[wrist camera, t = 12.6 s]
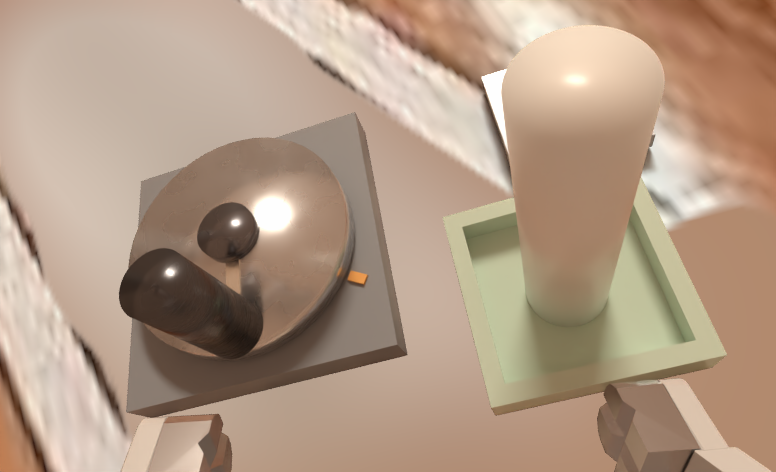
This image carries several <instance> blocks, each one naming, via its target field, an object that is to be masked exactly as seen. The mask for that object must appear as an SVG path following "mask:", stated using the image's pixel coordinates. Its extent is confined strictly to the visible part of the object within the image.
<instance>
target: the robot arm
mask: <svg viewBox="0 0 776 472" xmlns="http://www.w3.org/2000/svg"><path fill="white" fill-rule="evenodd" d="M604 396H605V399H606V401H607V403H606V404H605V405H603V406H602V407H600V409H599V413H598V418H597V421H598V432H599V436H600V440H601V443H602V445H603V448H604V450H605V453H607V454H608V455H609V456H610V457H611V458H613V459H614V460H615V461H617V464H616V468H615V471H614V472H772V471H770V470H769V469H768V468H766V467H765V466H763V465H762V464H760V463H759V462H757V461H756V460H754V459H753V458H751V457H750V456H749V455H747V454H746V453H744V452H743V451H741V450H739V449H738V448H737V447H728V445H727V443H726V442H725V440H724V439H723V437H722V436H721V434H720V433H719V431H718V429H717V428H716V426H715V425H714V423H713V422H712V420H711V419H710V417H709V416H708V414H707V412H706V411H705V410H704V408H703V406H702V405H701V403H700V402H699V400H698V398H697V397H696V395H695V394H694V392H693V391H692V389H691V387H690V386H689V384H688V383H687V382H686V381H685V380H684V379H682V378H676V379H665V380H644V381H633V382H622V383H611V384H609V385H608V386H607V387H606V389H605V392H604ZM222 427H223V422H222V420H221V417H220V415H219V414H209V415H191V416H173V417H156V418H144V419H143V420H142V421H141V423H140V424H139V425H138V427H137V429H136V432H135V435H134V437H133V440H132V443H131V445H130V448H129V451H128V453H127V456H126V459H125V461H124V464H123V467H122V469H121V472H231V468H232V451H231V443H230V441H229V438H228V436H227V435H225V434H223V433H222V432H221V431H222Z"/></svg>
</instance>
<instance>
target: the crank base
mask: <svg viewBox="0 0 776 472" xmlns="http://www.w3.org/2000/svg"><path fill="white" fill-rule="evenodd" d="M277 139H283V140H288V141H292V142H294V143H297V144H300V145H302V146H304V147H306V148H307V149H309V150H311V151H313V152H314V153H315V154H316V155H318V156H319V157H320V158H321V159H322V160H323V161H324V162H325V163H326V164H327V165H328V167H329V168H330V169H331V171H332V172H333V174H334V175H335V177H336V178H337V180H338V181H339V183H340V185H341V186H342V188H343V189H344V191H345V193H346V195H347V197H348V200H349V202H350V205H351V209H352V213H353V217H354V229H355V232H354V246H353V251H352V257H351V261H350V264H349V267H348V270H347V273H346V275H345V277H344V279H343V282H342V284H341V286H340V288H339V290H338V291H337V293H336V294H335V296H334V298H333V299H332V301H331V302H330V304H329V305H328V306H327V307H326V309H325V310H324V311H323V312H322V314H321V315H320V316H319V317H318V318H317V319H316V320H315V321H314V322H313V323H312V324H311V325H310V326H309V327H308V328H307V329H305V330H304V331H303V332H302V333H300V334H299V335H298V336H297V337H295V338H294V339H292V340H291V341H289V342H287V343H286V344H284V345H283V346H281V347H279V348H276V349H274V350H272V351H270V352H268V353H265V354H262V355H259V356H256V357H253V358H249V359H243V360H238V361H215V360H208V359H204V358H200V357H197V356H194V355H192V354H189V353H187V352H184V351H182V350H180V349H177V348H175V347H173V346H171V345H169V344H166V343H165V342H163V341H162V340H160V339H159V338H157V337H156V336H155V335H154V334H153V333H152V332H151V331H150V330H149V329H148V328H147V327H146V326H145V325H144V323H142V322H140V321H138V320H136V319H133V318H132V333H131V347H130V363H129V379H128V394H127V409H126V412H127V413H132V414H136V415H141V416H146V417H150V418H154V417H158V416H162V415H166V414H170V413H174V412H178V411H182V410H186V409H190V408H195V407H199V406H203V405H207V404H211V403H214V402H219V401H223V400H227V399H231V398H235V397H239V396H243V395H247V394H251V393H255V392H260V391H264V390H268V389H272V388H276V387H280V386H284V385H288V384H292V383H296V382H300V381H304V380H308V379H312V378H316V377H321V376H324V375H329V374H333V373H337V372H341V371H345V370H349V369H353V368H357V367H361V366H365V365H369V364H373V363H378V362H382V361H386V360H390V359H394V358H397V357H402V356H405V355H407V350H406V345H405V339H404V334H403V329H402V324H401V319H400V313H399V308H398V303H397V298H396V292H395V287H394V282H393V277H392V271H391V266H390V261H389V255H388V250H387V245H386V240H385V235H384V229H383V224H382V219H381V213H380V208H379V203H378V198H377V193H376V187H375V182H374V177H373V171H372V166H371V161H370V156H369V150H368V145H367V140H366V135H365V132H364V130H363V128H362V126H361V124H360V122H359V119H358V118H357V115H356V113H355V112H354V113H351V114H348V115H345V116H342V117H339V118H336V119H333V120H329V121H327V122H323V123H320V124H317V125H314V126H311V127H308V128H305V129H302V130H299V131H295V132H293V133H289V134H286V135H283V136H280V137H277ZM184 168H185V167H184ZM184 168H181V169H178V170H175V171H172V172H168V173H165V174H162V175H159V176H156V177H153V178H150V179H147V180H144V181H141V194H140V209H139V224H138V225H140V223H141V221H142V219H143V217H144V215H145V213H146V212H147V210H148V208H149V207H150V205H151V204H152V202H153V201H154V199H155V198H156V197H157V195H158V194H159V193H160V191H161V190H162V189H163V188H164V187H165V186H166V185H167V184H168V183H169V182H170V180H171V179H173V178H174V177H175V176H176V175H177V174H178V173H179V172H180V171H181V170H183V169H184ZM138 227H139V226H138Z"/></svg>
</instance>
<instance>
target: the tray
mask: <svg viewBox="0 0 776 472" xmlns="http://www.w3.org/2000/svg"><path fill="white" fill-rule="evenodd" d="M443 221H444V225H445V229H446V233H447V237H448V241H449V244H450V249H451V253H452V256H453V260H454V264H455V268H456V272H457V276H458V280H459V284H460V288H461V292H462V296H463V299H464V304H465V308H466V311H467V315H468V319H469V323H470V327H471V331H472V335H473V339H474V343H475V347H476V350H477V355H478V359H479V363H480V366H481V370H482V374H483V378H484V382H485V386H486V390H487V394H488V398H489V402H490V405H491V409H492V410H493V412H494V413H495V415H501V414H505V413H510V412H514V411H519V410H523V409H528V408H532V407H537V406H541V405H546V404H550V403H554V402H559V401H564V400H568V399H572V398H577V397H582V396H586V395H591V394H595V393H599V392H604V391H605V389H606V387H607V386H608V385H609V384H611V383H622V382H633V381H644V380H658V379H663V378H667V377H671V376H676V375H681V374H685V373H690V372H694V371H699V370H703V369H708V368H712V367H713V366H714V365H716V364H717V363H718V362H719V361H720V360H722V359H723V358H724V357H725V356H726V355H727V354H726V352H725V349H724V348H723V345H722V343H721V341H720V340H719V337H718V335H717V333H716V331H715V329H714V327H713V325H712V323H711V321H710V319H709V316H708V314H707V312H706V310H705V308H704V306H703V304H702V302H701V300H700V298H699V296H698V294H697V292H696V290H695V288H694V286H693V284H692V282H691V279H690V277H689V275H688V273H687V271H686V269H685V267H684V265H683V263H682V261H681V259H680V257H679V255H678V252H677V250H676V248H675V246H674V244H673V242H672V240H671V238H670V236H669V234H668V232H667V230H666V228H665V226H664V224H663V222H662V219H661V217H660V215H659V213H658V211H657V209H656V207H655V205H654V203H653V201H652V199H651V197H650V195H649V193H648V191H647V188H646V186H645V184H644V182H643V180H642V178H641V177H640V181H639V185H638V188H637V192H636V196H635V199H634V203H633V207H632V210H631V214H630V218H629V222H628V225H627V229H626V233H625V236H624V240H623V244H622V247H621V251H620V255H619V258H618V262H617V266H616V270H615V273H614V277H613V281H612V284H611V288H610V292H609V295H608V299H607V302H606V305H605V307H604V309H603V310H602V312H601V313H600V314H599V315H598V316H597V317H596V318H595V319H593V320H592V321H590V322H588V323H586V324H584V325H580V326H576V327H562V326H557V325H554V324H551V323H549V322H547V321H545V320H543V319H542V318H541V317H539V316H538V315H537V314H536V313H535V312H534V310H533V309H532V308H531V306H530V304H529V302H528V299H527V296H526V289H525V281H524V273H523V265H522V257H521V249H520V241H519V233H518V225H517V217H516V209H515V201H514V197H513V198H509V199H506V200H503V201H499V202H495V203H492V204H489V205H485V206H481V207H478V208H475V209H471V210H467V211H464V212H460V213H456V214H453V215H450V216H446V217H443Z"/></svg>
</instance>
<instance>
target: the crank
mask: <svg viewBox="0 0 776 472" xmlns="http://www.w3.org/2000/svg"><path fill="white" fill-rule="evenodd" d="M354 232H355V229H354V217H353V213H352V209H351V205H350V202H349V200H348V197H347V195H346V193H345V191H344V189H343V188H342V186H341V185H340V183H339V181H338V180H337V178H336V177H335V175H334V174H333V172H332V171H331V169H330V168H329V167H328V165H327V164H326V163H325V162H324V161H323V160H322V159H321V158H320V157H319V156H318V155H316V154H315V153H314V152H313V151H311V150H309V149H307V148H306V147H304V146H302V145H300V144H297V143H294V142H292V141H288V140H283V139H277V138H252V139H246V140H241V141H237V142H233V143H230V144H227V145H224V146H222V147H219V148H217V149H215V150H213V151H211V152H209V153H207V154H205V155H203V156H201V157H200V158H198V159H196V160H195V161H193V162H192V163H191V164H189V165H188V166H187V167H185V168H184V169H183V170H181V171H180V172H179V173H178V174H177V175H176V176H175V177H174V178H173V179H171V180H170V182H169V183H168V184H167V185H166V186H165V187H164V188H163V189H162V190H161V191H160V193H159V194H158V195H157V197H156V198H155V199H154V201H153V202H152V204H151V205H150V207H149V208H148V210H147V212H146V213H145V215H144V217H143V219H142V221H141V223H140V225H139V227H138V230H137V233H136V235H135V238H134V241H133V245H132V249H131V253H130V259H129V269H128V270H127V272H126V274H125V275H124V277H123V280H122V282H121V286H120V291H119V300H120V304H121V307H122V309H123V311H124V312H125V313H126V314H127V315H128V316H129V317H132V318H133V319H136V320H138V321H140V322H142V323H144V325H145V326H146V327H147V328H148V329H149V330H150V331H151V332H152V333H153V334H154V335H155V336H156V337H157V338H159V339H160V340H162V341H163V342H165V343H166V344H169V345H171V346H173V347H175V348H177V349H180V350H182V351H184V352H187V353H189V354H192V355H194V356H197V357H200V358H204V359H208V360H215V361H238V360H243V359H249V358H253V357H256V356H259V355H262V354H265V353H268V352H270V351H272V350H274V349H276V348H279V347H281V346H283V345H284V344H286V343H287V342H289V341H291V340H292V339H294V338H295V337H297V336H298V335H299V334H300V333H302V332H303V331H304V330H305V329H307V328H308V327H309V326H310V325H311V324H312V323H313V322H314V321H315V320H316V319H317V318H318V317H319V316H320V315H321V314H322V312H323V311H324V310H325V309H326V307H327V306H328V305H329V304H330V302H331V301H332V299H333V298H334V296H335V294H336V293H337V291H338V290H339V288H340V286H341V284H342V282H343V279H344V277H345V275H346V273H347V270H348V267H349V264H350V261H351V257H352V251H353V246H354Z"/></svg>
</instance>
